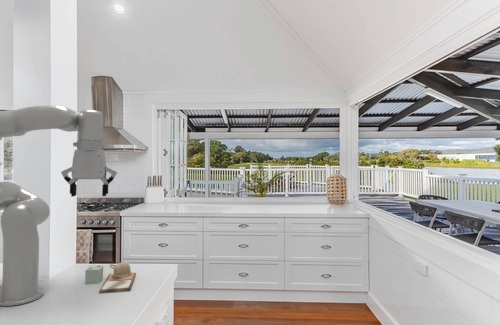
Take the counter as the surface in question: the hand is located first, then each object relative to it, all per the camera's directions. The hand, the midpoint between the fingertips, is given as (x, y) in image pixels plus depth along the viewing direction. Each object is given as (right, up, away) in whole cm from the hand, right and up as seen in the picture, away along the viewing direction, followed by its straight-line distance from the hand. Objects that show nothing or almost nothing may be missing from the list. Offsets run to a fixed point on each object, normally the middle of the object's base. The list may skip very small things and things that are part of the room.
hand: (89, 195), depth 106 cm
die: (-4, -33, +11) cm, 35 cm away
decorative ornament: (+5, -33, +13) cm, 35 cm away
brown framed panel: (+7, -34, +9) cm, 35 cm away
